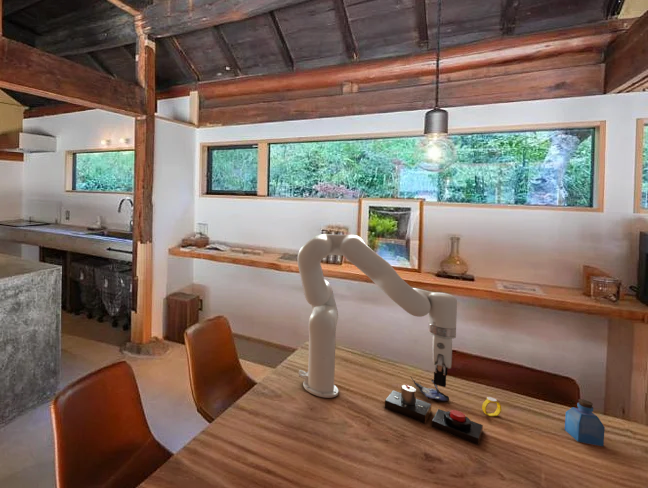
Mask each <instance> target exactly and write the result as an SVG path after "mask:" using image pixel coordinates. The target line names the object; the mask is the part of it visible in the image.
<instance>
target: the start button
mask: <svg viewBox="0 0 648 488" xmlns="http://www.w3.org/2000/svg"><path fill="white" fill-rule="evenodd" d="M449 411H450V417H451V418H452V419H454V420H457V421H460V422H465V416H466V414H465V413H463V412H462V411H460V410H456V409H451V410H449Z"/></svg>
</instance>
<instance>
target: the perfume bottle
mask: <svg viewBox="0 0 648 488" xmlns="http://www.w3.org/2000/svg"><path fill="white" fill-rule="evenodd" d="M577 400H578V402H577V404H576V405H577V407H574V406H572V407H571V408H569V409H568V410H566V411H565V414H564V415H565V418H564V431H565V432H566V433H567V434H569V435H570V437H572V438H573V439H574V440H575V441H576V442H578V443H582V444H588V445H593V446H598V447H604V444H605V429H606V427H605V425H604V424H603V422H602V421H601V419H600V418H599V416H598V415H597V414H595V413H593V412H594V407H593V406H594V404H593V402H592V401H589V400H586V399H582V398H578V399H577Z"/></svg>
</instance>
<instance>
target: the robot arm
mask: <svg viewBox="0 0 648 488" xmlns="http://www.w3.org/2000/svg"><path fill="white" fill-rule="evenodd" d="M328 256H343V257H344V258H345V259H346V260H348V261H349V262H350V263H351V264H352V265H353V266H354V267H356V268H357V269H358V270H360V271H361V272H362V274H364V275H365V276H366V277H368V279H370V280H371V281H372V282H373V283H374V284H375V285H376V286H377V287H378V288H379V289H380V290H382V291H383V292H384V294H385V295H386V296H387V297H389V299H391V300H392V302H394V303H395V304H397V305H398V306H399V307H400V308H401V309H403V310H404V311H405V312H406V313H407V314H410V315H411V316H413V317H419V318H420V317H421V318H422V317H424V316H427V315H428V327H427V328H428V329H427V330H428V334H430V335H432V339H431V340H432V343H431V345H432V347H431V349H432V350H431V351H432V364H433V365H434V371H433V380H434V383H433V385H434V384H435V385H437V386H439V387H443V388H446V387H447V376H448V369H449V370H450V369H452V365H453V363H452V362H453V340H454V339H456V338H457V318H458V317H457V316H458V314H457V313H458V306H457V305H458V299H457V298H456V297H455V296H454V295H453V294H450V293H447V292H439V291H438V292H434V291H429V290H425V289H422V288H418V287H417V288H416V287H412V286H411V285H409V284H408V283H407V282H406V281H405V280H404V279H403V278H402V277H401V276H400V275H399V274H398V272H397V271H396V269H394V267H393V266H392V265H391V264H390V263H389V262H388V261H387V260H386V259H384V258H383V257H382V256H381V255H380V254H378V253H377V252H375V250H374V249H372V248H371V247H370V246H369V245H367V244H366V243H365V241H364V239H363V238H362V237H361V236H359V235H356V234H335V233H334V234H332V233H331V234H329V233H322V234H321V233H320V234H317V235H315V236H313V237H311V239H309V240H308V241H307V242H305V243H304V244H303V245H302V246H301V248H299V250H298V253H297V259H296V261H297V267H298V273H299V276H300V282H301V285H302V291H303V296H304V299H305V300H306V302H307V303H308V304H309V305H311V309H312V312H311V314H310V316H309V319H308V360H307V361H308V363H307V364H308V365H307V371H305V370H303V369H298V372H297V373H298V378H301V379H303V383H302V386H303V388H304V389H305V390H306V392H308V393H310V394H311V395H313V396H317V397H319V398H326V399H332V398H335V397H337V396H338V395H339V388H338V387H337V385H335V375H336V374H335V373H336V371H335V370H336V345H337V344H336V343H337V342H336V340H337V327H338V321H339V311H338V307H337V304H336V299H335V295H334V291H333V287H332V285H331V284H330V282H329V280H327V279H326V278H325V276H324V271H323V268H322V264H321V263H322V260H324V259H325V258H327V257H328Z"/></svg>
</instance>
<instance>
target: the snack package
mask: <svg viewBox="0 0 648 488" xmlns="http://www.w3.org/2000/svg"><path fill="white" fill-rule="evenodd" d="M410 378H411V380H412V381H413V384H414V385H415V386H416V388H417V390H419V392H420V393H422V394H423V395H424V396H425V398H427V400H436V401H437V402H438V403H439V402H441V403H445V402H450V397H449V396H448V395H446V394H444V393H443V392H441V391H440V390H439V388H438V386H439V385H435V384H434V379H431V380H430V378H429V379H428V380H430V381H431V382H432V384H433V385H434V387H435V388H432V387H431V388H430V387H426V386H423V385H421V383H422V382H421V381H419V383H418V382H416V380H414V378H413V377H412V376H410Z"/></svg>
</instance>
